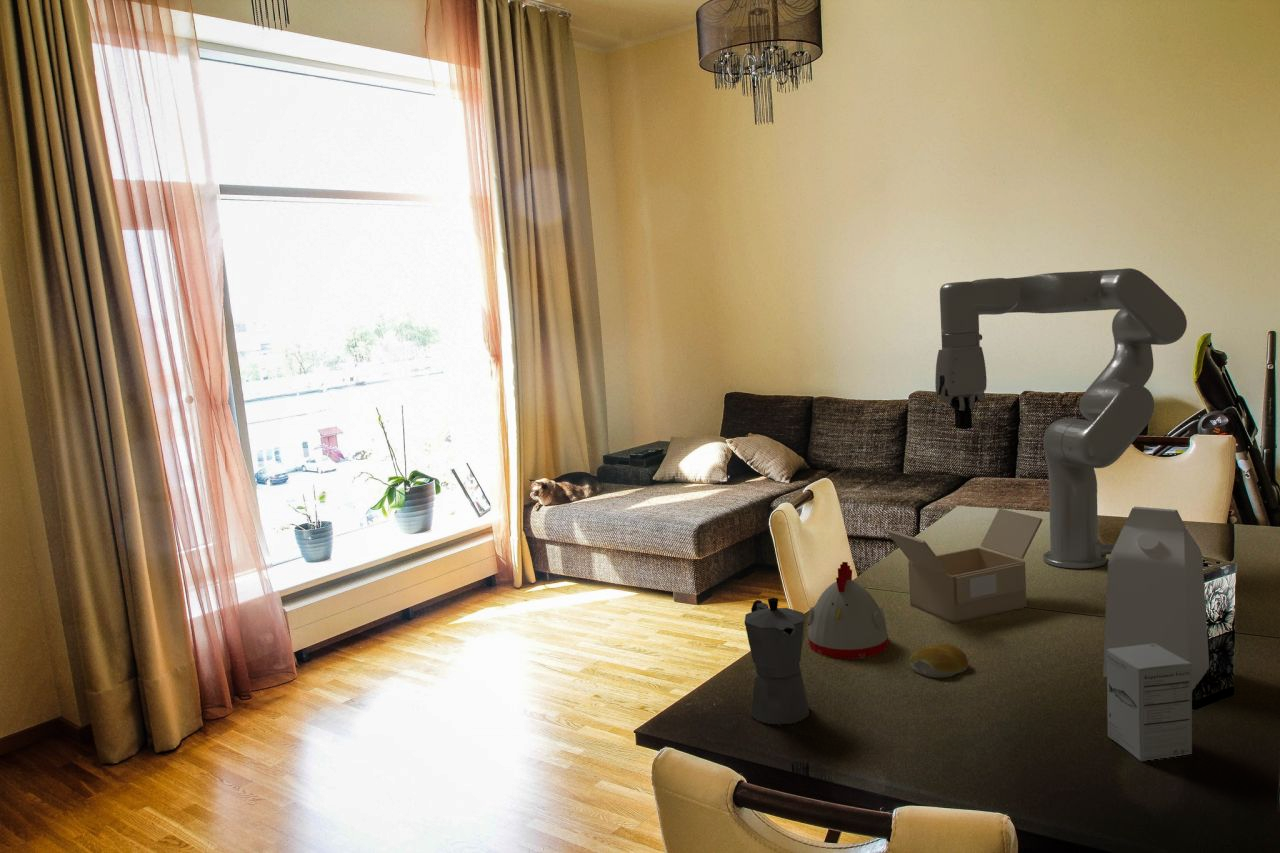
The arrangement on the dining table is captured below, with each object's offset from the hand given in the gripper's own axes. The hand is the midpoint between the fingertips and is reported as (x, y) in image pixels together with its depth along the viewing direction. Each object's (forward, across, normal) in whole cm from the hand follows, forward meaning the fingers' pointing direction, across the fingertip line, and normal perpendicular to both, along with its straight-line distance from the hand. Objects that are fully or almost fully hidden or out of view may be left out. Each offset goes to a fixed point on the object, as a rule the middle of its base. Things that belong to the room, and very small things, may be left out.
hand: (963, 428), depth 197 cm
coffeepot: (+32, +68, +37) cm, 84 cm away
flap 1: (+23, +22, +15) cm, 35 cm away
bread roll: (+32, +38, +37) cm, 62 cm away
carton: (+32, +14, +16) cm, 38 cm away
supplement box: (+32, +32, +72) cm, 85 cm away
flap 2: (+23, +5, +16) cm, 28 cm away
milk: (+32, +12, +56) cm, 65 cm away
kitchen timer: (+32, +44, +20) cm, 58 cm away
